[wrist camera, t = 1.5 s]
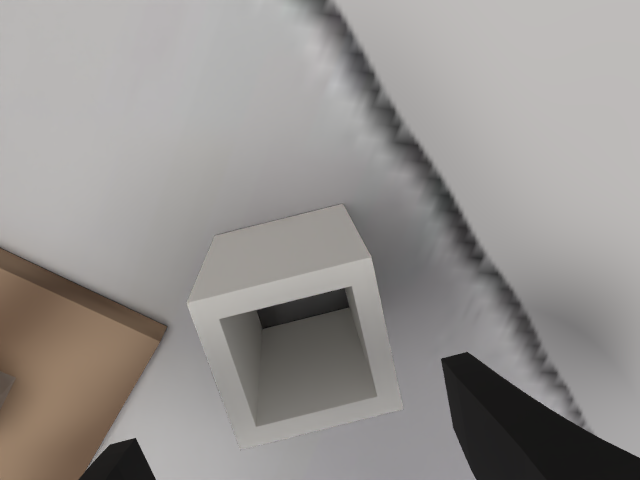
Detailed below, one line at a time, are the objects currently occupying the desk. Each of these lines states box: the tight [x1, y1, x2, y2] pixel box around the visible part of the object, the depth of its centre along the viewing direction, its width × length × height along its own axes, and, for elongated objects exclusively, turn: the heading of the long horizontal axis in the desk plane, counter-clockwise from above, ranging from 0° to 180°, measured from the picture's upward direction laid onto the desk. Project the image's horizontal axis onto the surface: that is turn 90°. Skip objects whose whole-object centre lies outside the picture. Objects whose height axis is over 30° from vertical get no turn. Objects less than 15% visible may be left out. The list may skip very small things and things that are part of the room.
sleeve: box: [186, 204, 403, 450], centre depth 16 cm, size 5×5×6 cm
